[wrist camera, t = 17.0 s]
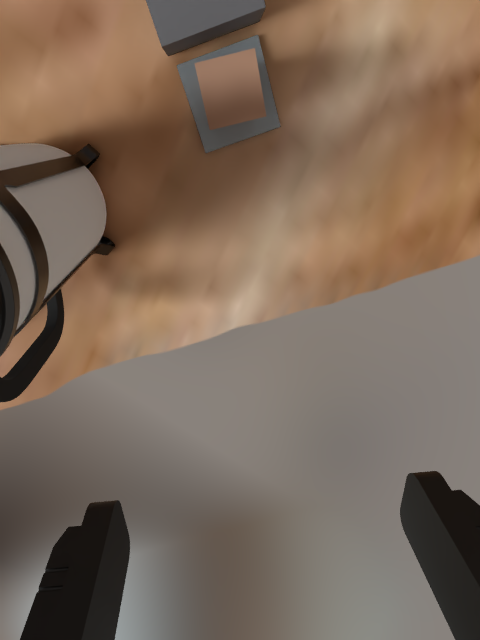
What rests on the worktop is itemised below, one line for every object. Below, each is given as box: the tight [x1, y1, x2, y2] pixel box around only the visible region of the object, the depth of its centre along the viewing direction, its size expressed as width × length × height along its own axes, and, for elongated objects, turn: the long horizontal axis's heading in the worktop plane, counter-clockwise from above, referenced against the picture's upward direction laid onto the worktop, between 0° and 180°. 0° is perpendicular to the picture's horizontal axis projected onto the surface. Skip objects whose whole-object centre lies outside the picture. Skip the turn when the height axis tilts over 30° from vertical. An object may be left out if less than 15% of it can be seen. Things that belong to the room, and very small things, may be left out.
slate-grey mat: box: [177, 35, 281, 153], centre depth 39 cm, size 8×8×1 cm
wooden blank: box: [194, 48, 266, 130], centre depth 34 cm, size 4×4×10 cm
